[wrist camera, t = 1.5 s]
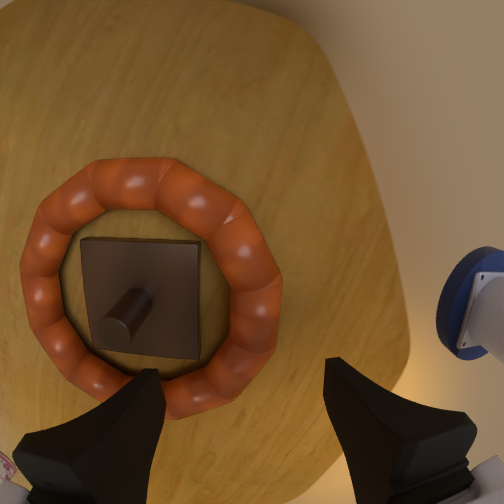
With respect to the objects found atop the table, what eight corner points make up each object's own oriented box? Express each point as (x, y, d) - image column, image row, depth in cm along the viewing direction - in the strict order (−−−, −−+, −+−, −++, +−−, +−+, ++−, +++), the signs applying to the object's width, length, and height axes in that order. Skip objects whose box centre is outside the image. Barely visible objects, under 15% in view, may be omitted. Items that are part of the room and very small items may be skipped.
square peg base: (200, 240, 19) (185, 264, 14) (201, 353, 21) (191, 402, 15) (86, 236, 19) (41, 255, 13) (98, 341, 20) (66, 382, 15)
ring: (286, 163, 18) (295, 160, 15) (266, 406, 22) (269, 432, 19) (31, 167, 17) (6, 167, 14) (60, 382, 21) (45, 401, 18)
